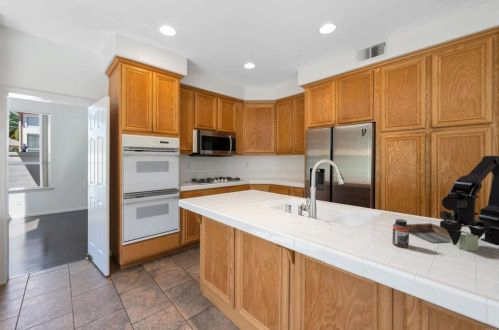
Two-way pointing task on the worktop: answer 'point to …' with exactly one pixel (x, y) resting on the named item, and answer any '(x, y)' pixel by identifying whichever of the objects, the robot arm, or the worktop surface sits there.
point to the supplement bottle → (400, 233)
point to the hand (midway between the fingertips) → (463, 244)
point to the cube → (467, 241)
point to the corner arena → (429, 232)
